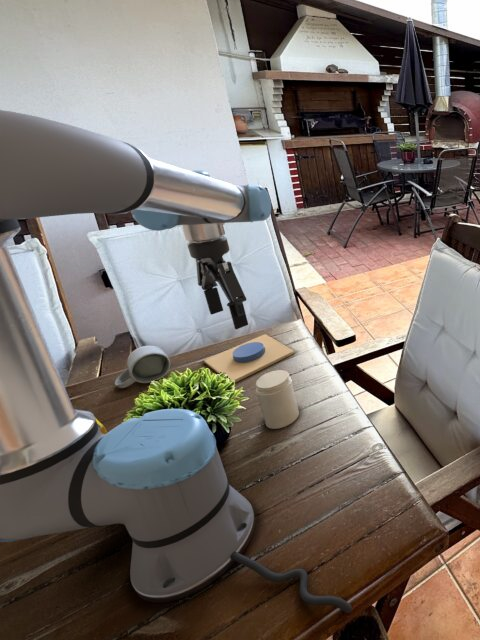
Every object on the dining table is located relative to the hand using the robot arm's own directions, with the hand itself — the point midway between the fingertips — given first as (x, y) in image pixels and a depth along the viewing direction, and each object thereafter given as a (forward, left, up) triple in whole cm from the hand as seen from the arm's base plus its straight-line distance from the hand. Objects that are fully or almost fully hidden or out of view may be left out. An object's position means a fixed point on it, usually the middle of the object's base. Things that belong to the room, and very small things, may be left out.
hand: (228, 319), depth 100 cm
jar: (-27, +4, -15) cm, 31 cm away
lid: (+4, -3, -13) cm, 14 cm away
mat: (+3, -3, -15) cm, 16 cm away
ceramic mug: (+16, +16, -15) cm, 27 cm away
